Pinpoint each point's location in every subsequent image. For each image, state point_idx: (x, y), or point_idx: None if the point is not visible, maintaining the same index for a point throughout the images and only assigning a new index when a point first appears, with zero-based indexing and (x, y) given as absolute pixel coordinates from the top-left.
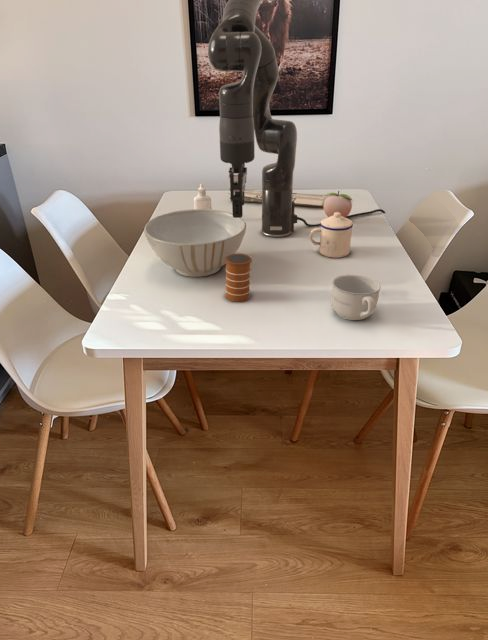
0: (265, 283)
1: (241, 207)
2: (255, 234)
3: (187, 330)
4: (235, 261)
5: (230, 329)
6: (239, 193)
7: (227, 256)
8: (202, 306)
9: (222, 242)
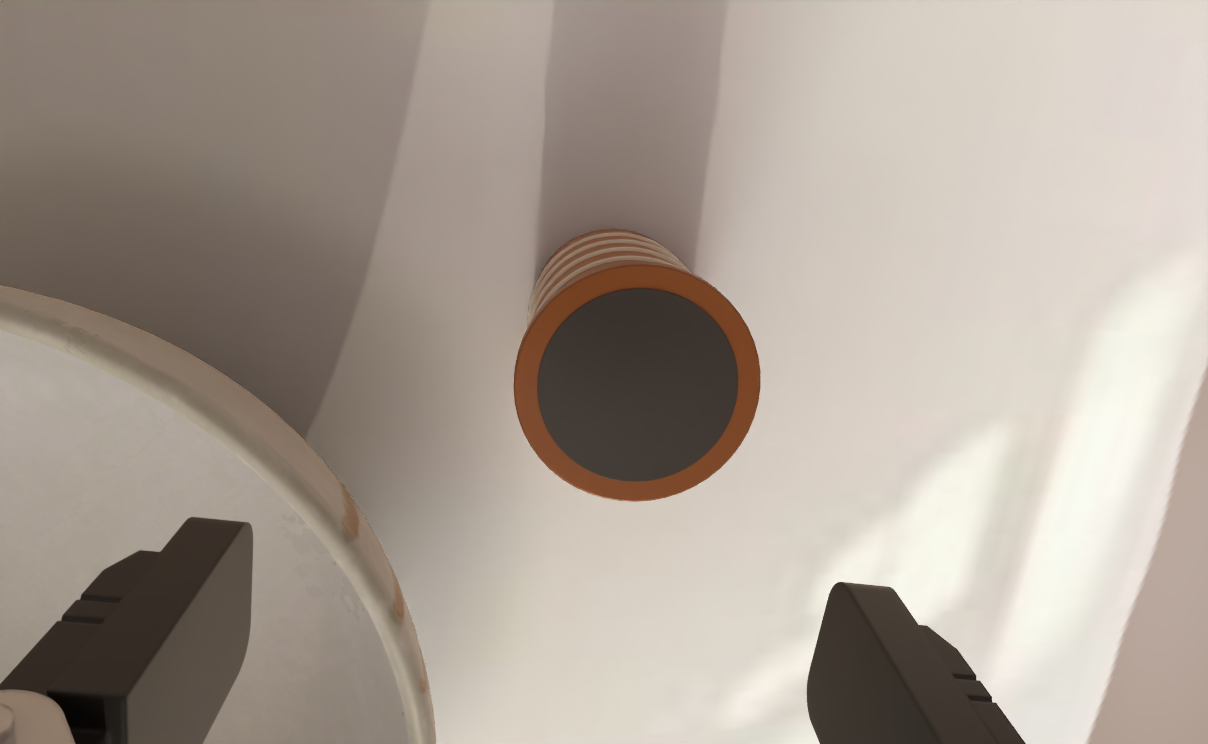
0: (411, 84)
1: (953, 693)
2: None
3: (970, 594)
4: (701, 417)
5: (1019, 377)
6: (166, 734)
7: (581, 478)
8: (711, 521)
9: (355, 536)
